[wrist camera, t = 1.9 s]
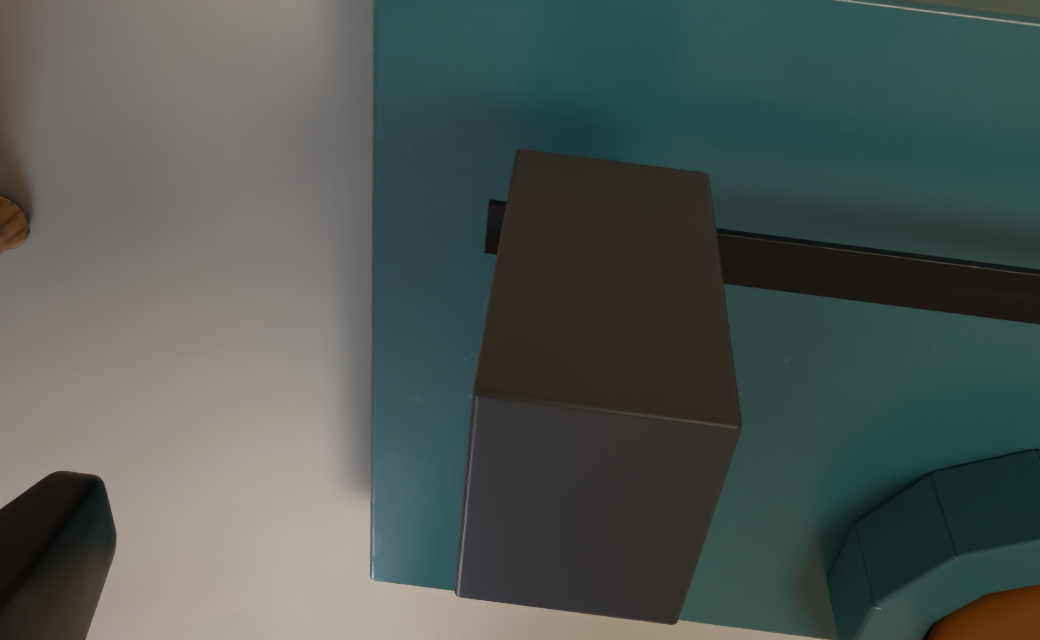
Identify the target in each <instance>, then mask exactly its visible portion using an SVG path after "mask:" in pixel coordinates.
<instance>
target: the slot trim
mask: <svg viewBox="0 0 1040 640" xmlns="http://www.w3.org/2000/svg"><path fill="white" fill-rule="evenodd" d="M506 202H507V201H502V200H494V199H490V200H489V204H488V214H487V225H486V236H485V247H484V253H486V254H494V255H497V252H498V247H499V241H500V235H501V230H502V224H503V219H504V213H505V208H506ZM716 231H717V239H718V246H719V254H720V261H721V269H722V276H723V284H728V285H736V286H743V287H751V288H759V289H767V290H775V291H782V292H790V293H798V294H806V295H814V296H821V297H829V298H837V299H845V300H853V301H860V302H868V303H876V304H884V305H891V306H899V307H907V308H915V309H923V310H930V311H938V312H946V313H954V314H962V315H969V316H977V317H985V318H993V319H1001V320H1008V321H1016V322H1024V323H1032V324H1039V325H1040V269H1033V268H1025V267H1017V266H1010V265H1002V264H994V263H986V262H978V261H971V260H963V259H955V258H947V257H939V256H932V255H924V254H916V253H908V252H900V251H892V250H885V249H877V248H869V247H861V246H853V245H846V244H838V243H830V242H822V241H814V240H807V239H799V238H791V237H783V236H775V235H768V234H760V233H752V232H744V231H736V230H729V229H721V228H716Z"/></svg>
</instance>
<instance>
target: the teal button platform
mask: <svg viewBox="0 0 1040 640" xmlns="http://www.w3.org/2000/svg"><path fill="white" fill-rule="evenodd" d="M518 149H527V150H535V151H542V152H550V153H558V154H566V155H574V156H582V157H589V158H597V159H605V160H613V161H621V162H629V163H636V164H644V165H652V166H660V167H668V168H675V169H683V170H691V171H699V172H705V173H707V174H708V175H709V179H710V187H711V194H712V202H713V209H714V217H715V224H716V228H721V229H729V230H736V231H744V232H752V233H760V234H768V235H775V236H783V237H791V238H799V239H807V240H814V241H822V242H830V243H838V244H846V245H853V246H861V247H869V248H877V249H885V250H892V251H900V252H908V253H916V254H924V255H932V256H939V257H947V258H955V259H963V260H971V261H978V262H986V263H994V264H1002V265H1010V266H1017V267H1025V268H1033V269H1040V0H373V157H372V341H371V525H370V576H371V579H372V580H375V581H383V582H390V583H398V584H406V585H413V586H421V587H429V588H436V589H444V590H452V591H455V590H454V586H455V575H456V564H457V553H458V542H459V531H460V520H461V509H462V499H463V488H464V477H465V466H466V455H467V444H468V433H469V422H470V411H471V400H472V390H473V385H474V379H475V374H476V368H477V363H478V357H479V351H480V346H481V340H482V335H483V329H484V324H485V318H486V313H487V307H488V302H489V296H490V291H491V285H492V280H493V274H494V269H495V263H496V258H497V255H494V254H486V253H484V247H485V236H486V225H487V214H488V204H489V200H490V199H494V200H502V201H507V197H508V191H509V186H510V180H511V175H512V169H513V164H514V158H515V153H516V152H517V150H518ZM724 291H725V299H726V306H727V314H728V321H729V328H730V336H731V343H732V351H733V358H734V366H735V373H736V381H737V388H738V396H739V403H740V410H741V418H742V425H743V427H742V430H741V433H740V436H739V439H738V442H737V445H736V448H735V451H734V454H733V457H732V460H731V463H730V466H729V469H728V472H727V475H726V478H725V481H724V484H723V487H722V490H721V493H720V496H719V499H718V502H717V505H716V508H715V511H714V514H713V517H712V520H711V523H710V526H709V529H708V532H707V535H706V538H705V541H704V545H703V548H702V551H701V554H700V557H699V560H698V563H697V566H696V569H695V572H694V575H693V578H692V581H691V584H690V587H689V590H688V593H687V596H686V599H685V602H684V605H683V608H682V611H681V614H680V617H679V620H682V621H690V622H697V623H705V624H713V625H720V626H728V627H736V628H743V629H751V630H759V631H766V632H774V633H782V634H789V635H797V636H805V637H812V638H820V639H828V640H927V637H928V635H929V633H930V631H931V629H932V628H933V626H934V625H935V623H936V622H937V621H938V620H940V619H942V618H944V617H946V616H947V615H949V614H951V613H953V612H955V611H956V610H958V609H960V608H962V607H964V606H965V605H967V604H969V603H971V602H973V601H974V600H976V599H978V598H980V597H982V596H983V595H985V594H990V593H995V592H1001V591H1006V590H1012V589H1017V588H1023V587H1028V586H1034V585H1039V584H1040V325H1039V324H1032V323H1024V322H1016V321H1008V320H1001V319H993V318H985V317H977V316H969V315H962V314H954V313H946V312H938V311H930V310H923V309H915V308H907V307H899V306H891V305H884V304H876V303H868V302H860V301H853V300H845V299H837V298H829V297H821V296H814V295H806V294H798V293H790V292H782V291H775V290H767V289H759V288H751V287H743V286H736V285H728V284H724Z"/></svg>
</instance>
